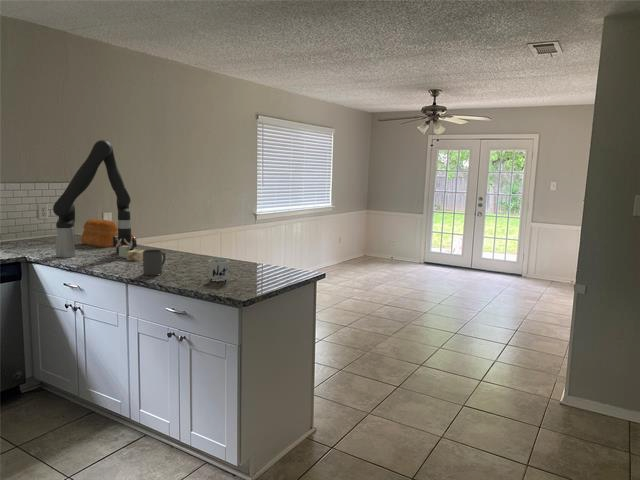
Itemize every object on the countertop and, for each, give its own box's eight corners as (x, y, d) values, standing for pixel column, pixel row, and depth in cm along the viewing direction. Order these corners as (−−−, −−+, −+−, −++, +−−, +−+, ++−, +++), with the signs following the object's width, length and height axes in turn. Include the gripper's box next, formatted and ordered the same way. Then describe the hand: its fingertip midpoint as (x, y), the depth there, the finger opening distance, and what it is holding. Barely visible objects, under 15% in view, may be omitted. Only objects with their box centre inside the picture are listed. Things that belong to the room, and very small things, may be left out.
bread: (102, 248, 320) (101, 222, 318) (79, 244, 334) (78, 218, 332) (123, 245, 334) (122, 220, 331) (100, 241, 347) (99, 217, 345)
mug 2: (210, 283, 236) (210, 263, 235) (204, 276, 250) (204, 257, 248) (231, 282, 240) (231, 261, 239) (225, 275, 254) (225, 256, 252)
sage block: (119, 256, 295) (118, 246, 294) (123, 255, 300) (123, 245, 299) (126, 257, 294) (126, 247, 293) (131, 255, 299) (131, 246, 298)
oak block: (126, 260, 286) (126, 251, 285) (134, 257, 294) (134, 249, 293) (139, 261, 284) (139, 252, 284) (147, 258, 292) (146, 250, 291)
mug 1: (153, 276, 246) (152, 253, 244) (139, 274, 250) (138, 251, 248) (172, 272, 258) (171, 249, 256) (158, 269, 262) (158, 247, 260)
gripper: (109, 227, 292) (110, 254, 294) (131, 228, 289) (132, 255, 291) (117, 225, 299) (118, 252, 301) (138, 227, 296) (139, 253, 299)
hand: (125, 253), depth 296 cm, fingers open, 8 cm apart
